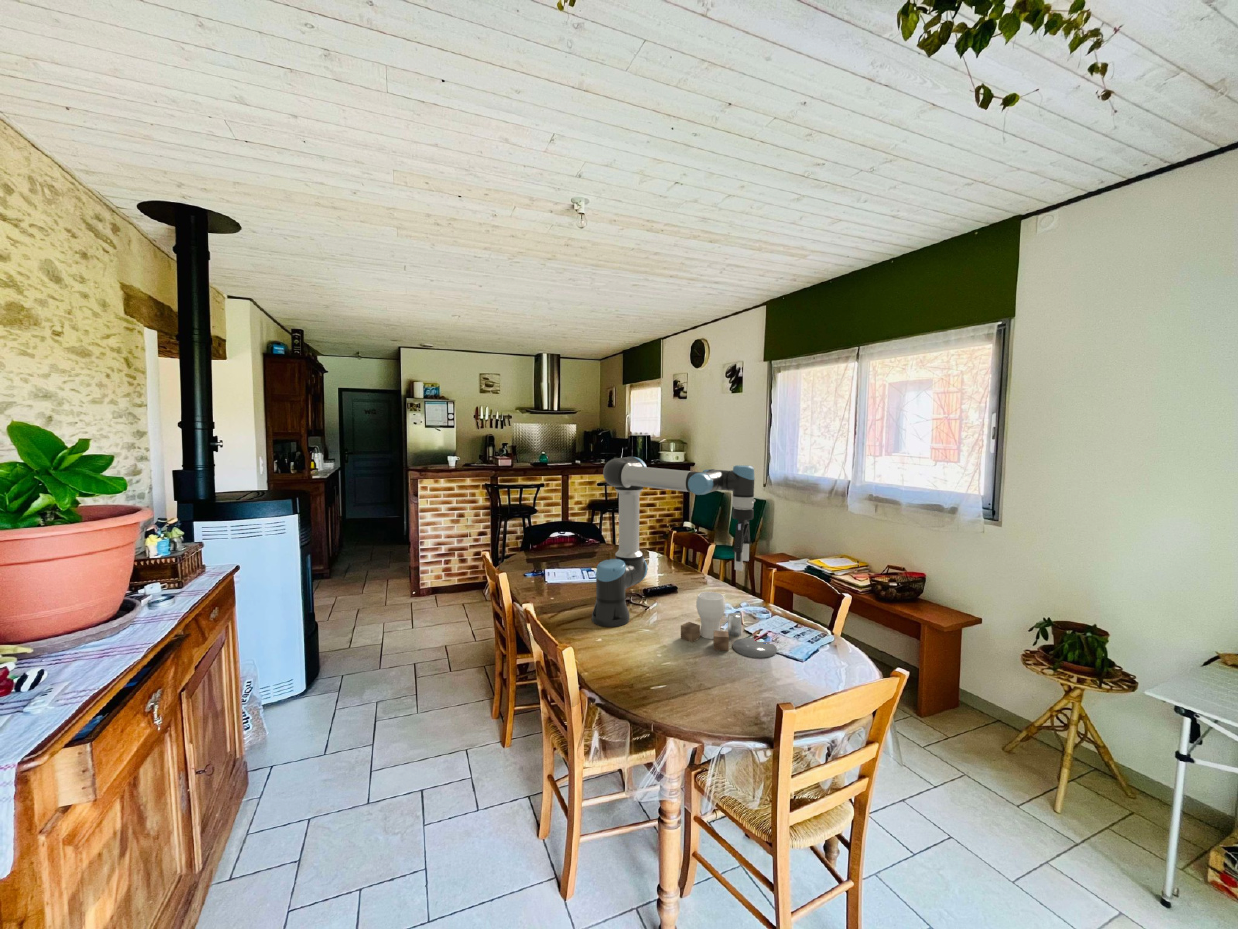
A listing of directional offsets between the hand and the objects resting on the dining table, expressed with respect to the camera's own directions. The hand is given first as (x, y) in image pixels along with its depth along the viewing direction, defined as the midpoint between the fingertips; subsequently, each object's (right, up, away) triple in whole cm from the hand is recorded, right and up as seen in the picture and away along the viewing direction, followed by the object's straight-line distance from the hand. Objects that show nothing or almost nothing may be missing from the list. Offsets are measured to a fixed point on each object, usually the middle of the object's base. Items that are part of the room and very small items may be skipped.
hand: (741, 565), depth 187 cm
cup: (-11, -27, +3) cm, 29 cm away
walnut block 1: (-19, -27, 0) cm, 33 cm away
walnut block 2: (-9, -28, -7) cm, 30 cm away
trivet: (+3, -28, -8) cm, 29 cm away
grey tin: (-2, -27, +5) cm, 27 cm away
